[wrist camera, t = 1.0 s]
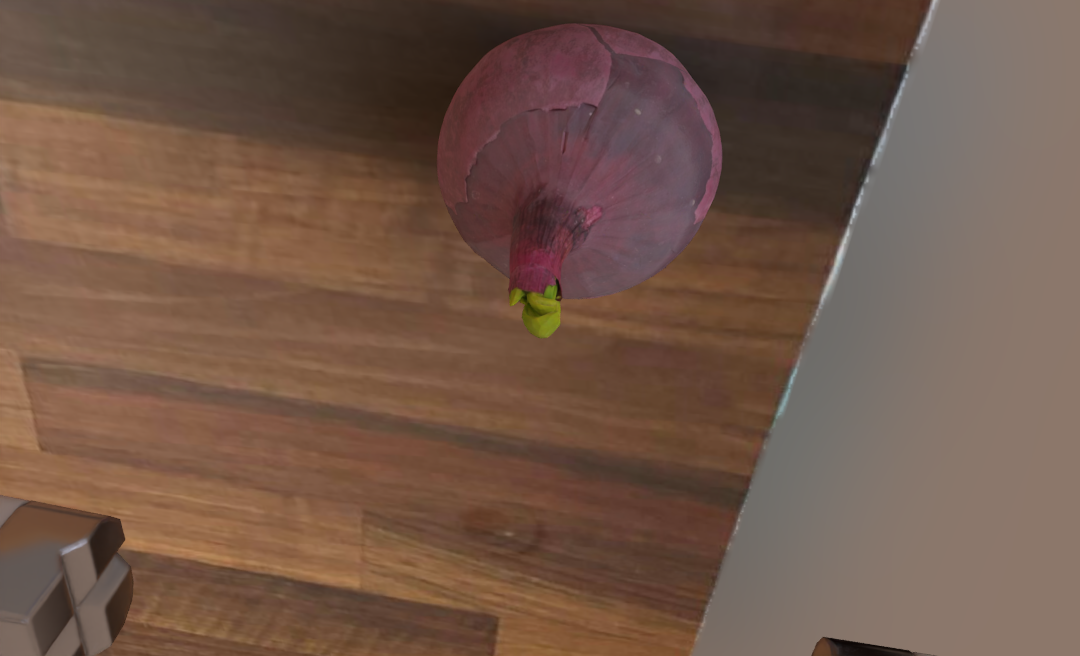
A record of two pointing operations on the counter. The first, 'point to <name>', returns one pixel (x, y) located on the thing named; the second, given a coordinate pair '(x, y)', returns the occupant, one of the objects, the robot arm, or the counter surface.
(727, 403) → the counter surface
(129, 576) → the robot arm
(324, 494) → the counter surface
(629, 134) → the vegetable
